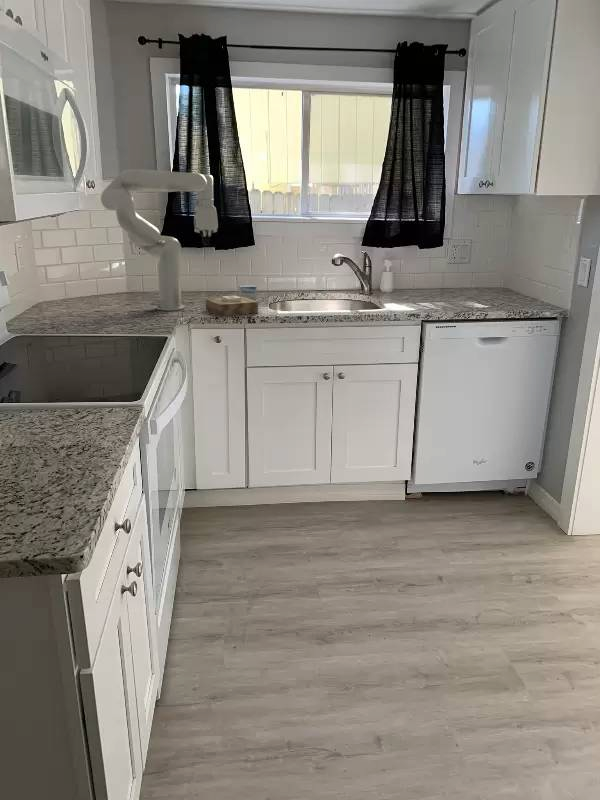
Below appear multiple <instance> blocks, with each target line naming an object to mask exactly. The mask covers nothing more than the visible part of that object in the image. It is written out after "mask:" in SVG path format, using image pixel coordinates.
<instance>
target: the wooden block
mask: <svg viewBox="0 0 600 800" xmlns="http://www.w3.org/2000/svg"><path fill="white" fill-rule="evenodd" d="M205 310H206V311H207V310H208V311H207V312H209V311H210V312H209V313H211V312H212V314H214V315H216V316H218V317H231V316H241V315H242V314H243V315H250V314H249V313H255V314H258V313H259V301H257V300H256V301H254V300H251V299H248V298H245V297H241V301H236V302H227V301H224V300H222V297H219V298H218V297H216V298H205Z"/></svg>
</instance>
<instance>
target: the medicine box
mask: <svg viewBox="0 0 600 800" xmlns="http://www.w3.org/2000/svg"><path fill="white" fill-rule="evenodd" d="M238 297H245V298H248V299H251V300H254V301H257V286H256V285H238Z"/></svg>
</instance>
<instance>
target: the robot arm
mask: <svg viewBox="0 0 600 800" xmlns="http://www.w3.org/2000/svg"><path fill="white" fill-rule="evenodd" d="M131 192H150V193H151V192H158V193H172V192H173V193H174V192H195V193H196V200H194V201H193V204H194V205H196V206H195V207H194V208H195V209H194V217H193V226H194V232H195V233H198V234H200V235H201V237H202V245H203V246H205V247H206V246H208V247H209V246H210V244H211V236H212V235H213V234H214V233H217V232H218V228H219V221H218V212H217V208H216V206H214V204H215V203H214V202H215V201H214V177H213V175H211V174H201V173H198V172H179V171H172V170H160V169H159V170H158V169H134V168H133V169H124V170H122V171H121V172H120V173H119V174H117V176H116V177H115V178H114V179H113V180H112V181H111V182H110V183H109V184H108V186H106V188H104V190H103V191H102V192H101V195H100V201H101V204H102V206H103V207H104V208H105V209H107V210H108V211H115V213H116V215H115V216H116V217H117V221H118V224H119V226H120V227H121V228H122V229H123V230H124V231H125V232H127V237H128V239H129V240H130V242H131V243H132V244H133V245H134V246H136V247H137V248H139V249H141V250H142V251H143V252H145V253H147V254H149V255H150V256H153V257H154V258H159V260H158V264H157V275H158V295H159V298H157V299H156V300H149V301H148V305H149V306H156V309H157V310H159V311H166V312H167V311H169V312H173V311H182V310H184V309H186V305H184V304H182V293H181V292H182V290H181V289H182V288H181V264H180V263H181V254H182V245H181V243H180V241H179V240H178V239H177V238H175V237H174V236H167V235H161V232H160V230H159V229H158V228H157V227H156V226H155V225H154V224H152V223H150V222H149V221H147V220H146V219H144V218H143V217H142V216H141V215H140V214H139V213H137V211H136V208H135V202H134V197H133V195H132V194H131Z"/></svg>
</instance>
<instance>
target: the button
mask: <svg viewBox="0 0 600 800" xmlns="http://www.w3.org/2000/svg"><path fill="white" fill-rule="evenodd" d="M221 298H222V300H224V301H227V302H236V301H241V297H239V295H238V296H237V295H227V296H226V295H225V296H224V295H223V296H221Z"/></svg>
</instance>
